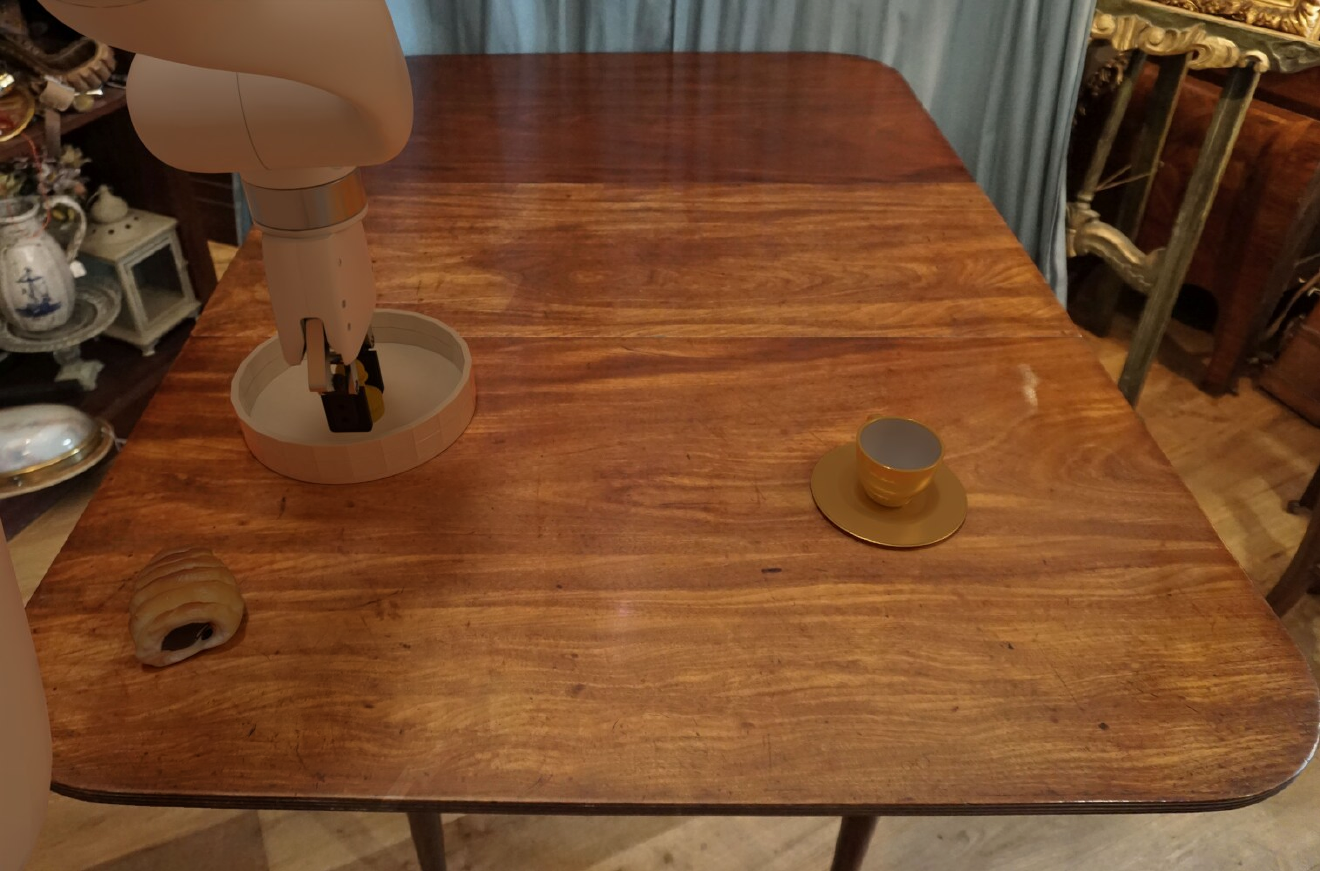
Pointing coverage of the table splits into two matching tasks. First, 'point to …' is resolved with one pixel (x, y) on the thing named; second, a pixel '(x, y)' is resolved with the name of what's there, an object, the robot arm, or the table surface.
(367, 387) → the chess piece
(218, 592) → the pastry
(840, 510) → the cup
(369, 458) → the bowl
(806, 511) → the table surface
